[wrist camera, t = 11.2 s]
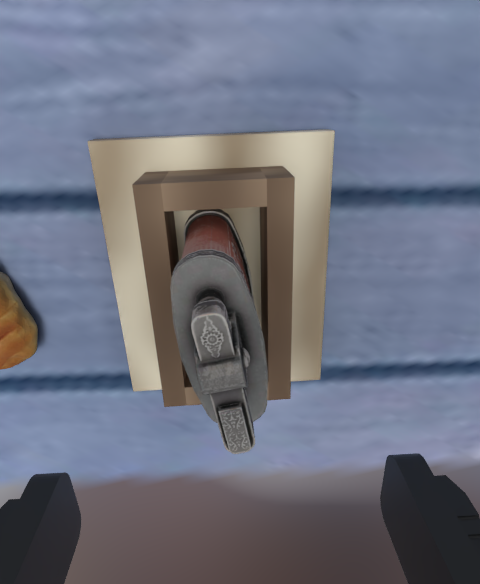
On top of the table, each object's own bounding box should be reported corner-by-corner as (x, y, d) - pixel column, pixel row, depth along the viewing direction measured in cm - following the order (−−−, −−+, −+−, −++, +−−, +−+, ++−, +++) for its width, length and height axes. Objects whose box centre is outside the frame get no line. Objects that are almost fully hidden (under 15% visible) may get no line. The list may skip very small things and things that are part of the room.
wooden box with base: (328, 129, 21) (357, 135, 17) (315, 368, 27) (334, 417, 23) (94, 139, 21) (62, 148, 16) (136, 379, 27) (121, 431, 23)
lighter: (172, 214, 21) (140, 296, 12) (236, 201, 21) (251, 274, 12) (207, 342, 25) (201, 481, 16) (262, 331, 25) (288, 465, 15)
